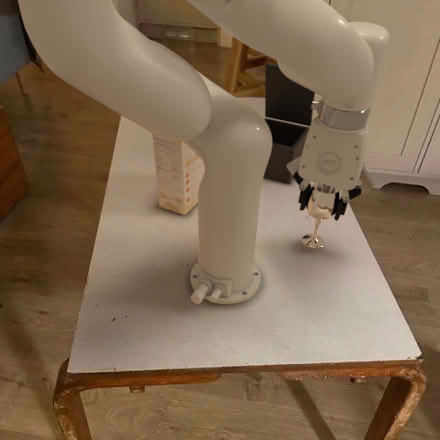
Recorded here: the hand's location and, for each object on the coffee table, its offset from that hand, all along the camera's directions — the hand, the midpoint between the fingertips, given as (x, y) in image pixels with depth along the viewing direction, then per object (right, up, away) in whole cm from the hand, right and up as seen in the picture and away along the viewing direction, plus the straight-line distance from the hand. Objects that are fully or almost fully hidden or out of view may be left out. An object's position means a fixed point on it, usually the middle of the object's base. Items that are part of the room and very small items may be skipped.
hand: (320, 211), depth 82 cm
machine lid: (-3, +30, +20) cm, 36 cm away
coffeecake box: (-25, +7, +19) cm, 32 cm away
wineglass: (0, -5, +5) cm, 7 cm away
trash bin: (-5, +16, +28) cm, 33 cm away
